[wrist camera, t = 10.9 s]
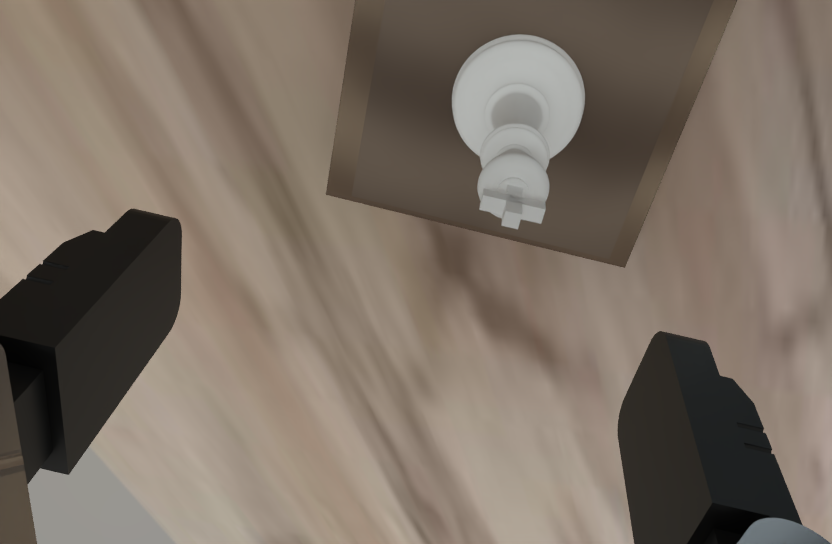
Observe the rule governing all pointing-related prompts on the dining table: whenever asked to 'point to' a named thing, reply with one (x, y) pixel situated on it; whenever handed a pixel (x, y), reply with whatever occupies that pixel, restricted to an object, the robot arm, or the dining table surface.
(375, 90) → the walnut pedestal
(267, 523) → the dining table surface
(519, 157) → the chess piece
